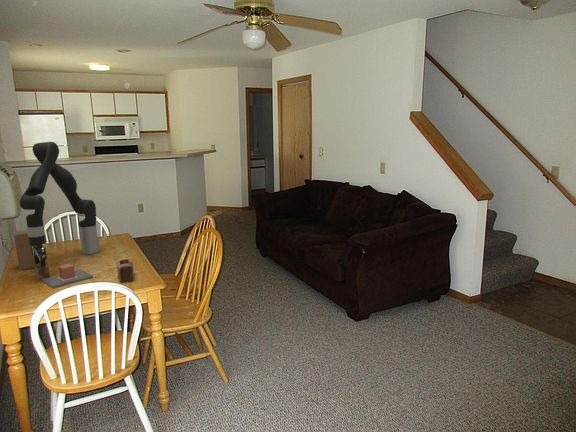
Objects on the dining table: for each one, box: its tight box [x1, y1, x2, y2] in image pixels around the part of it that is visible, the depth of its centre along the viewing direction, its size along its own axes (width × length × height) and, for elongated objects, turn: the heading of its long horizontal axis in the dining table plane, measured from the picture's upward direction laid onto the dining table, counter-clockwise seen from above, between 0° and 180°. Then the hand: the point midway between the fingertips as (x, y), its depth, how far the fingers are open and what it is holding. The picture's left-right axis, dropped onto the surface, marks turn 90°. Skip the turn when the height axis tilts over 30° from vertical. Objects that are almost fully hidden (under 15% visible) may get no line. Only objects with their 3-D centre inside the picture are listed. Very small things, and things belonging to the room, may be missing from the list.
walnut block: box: [33, 265, 51, 281], centre depth 212 cm, size 5×5×6 cm
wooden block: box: [13, 229, 40, 271], centre depth 229 cm, size 10×10×20 cm
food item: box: [116, 258, 134, 283], centre depth 211 cm, size 14×8×10 cm, turn 28°
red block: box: [58, 263, 76, 280], centre depth 209 cm, size 6×6×6 cm
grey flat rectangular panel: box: [41, 269, 94, 289], centre depth 210 cm, size 19×15×1 cm
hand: (40, 265), depth 211 cm, fingers open, 8 cm apart
